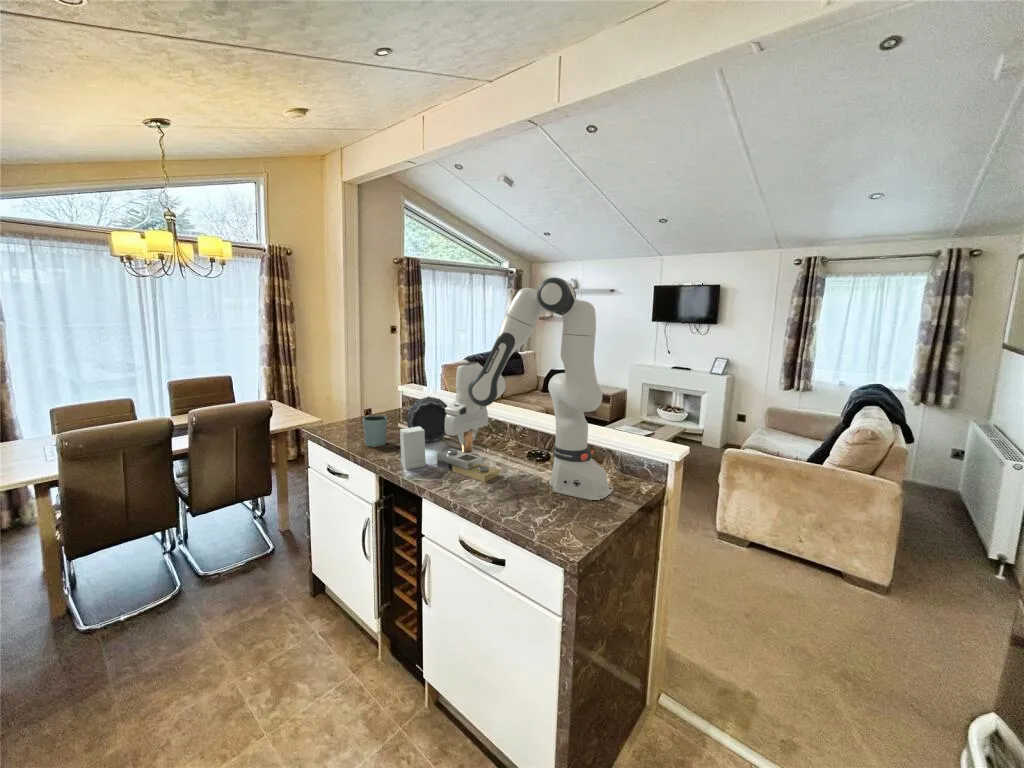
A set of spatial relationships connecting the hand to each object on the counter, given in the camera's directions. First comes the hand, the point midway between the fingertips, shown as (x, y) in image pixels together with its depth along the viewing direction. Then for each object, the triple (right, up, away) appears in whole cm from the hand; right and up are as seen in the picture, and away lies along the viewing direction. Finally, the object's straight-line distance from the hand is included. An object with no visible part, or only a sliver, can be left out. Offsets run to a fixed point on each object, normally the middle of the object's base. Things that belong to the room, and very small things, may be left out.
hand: (467, 442), depth 164 cm
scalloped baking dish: (-21, -4, +37) cm, 43 cm away
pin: (0, -4, +1) cm, 4 cm away
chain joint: (0, -11, +2) cm, 11 cm away
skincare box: (-21, -10, +5) cm, 24 cm away
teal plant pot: (-44, -5, +30) cm, 53 cm away
